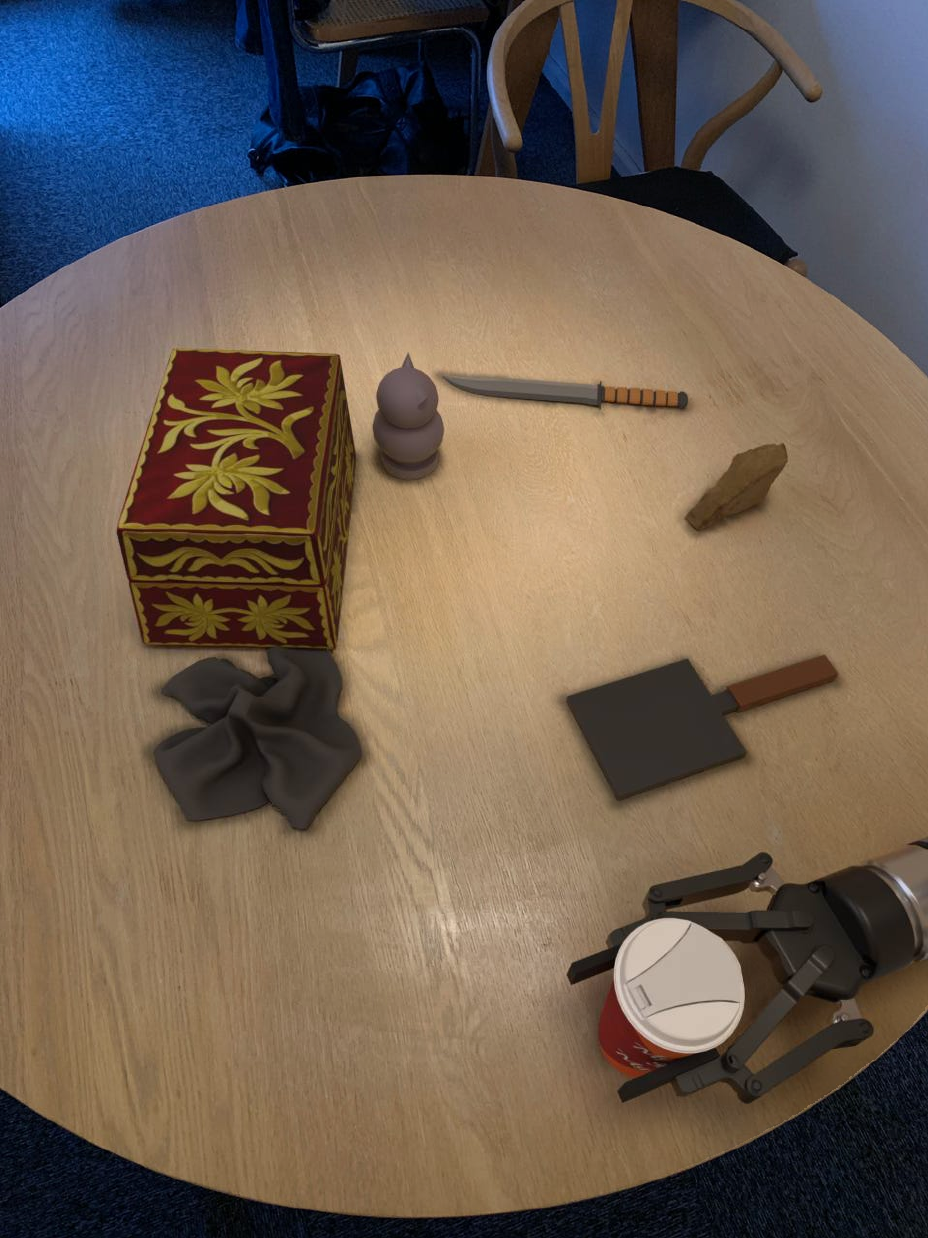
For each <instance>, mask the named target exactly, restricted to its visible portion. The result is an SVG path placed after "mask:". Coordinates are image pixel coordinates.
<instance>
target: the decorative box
mask: <svg viewBox="0 0 928 1238" xmlns="http://www.w3.org/2000/svg"><path fill="white" fill-rule="evenodd" d="M345 384H346V383H345V378H344V373H343V365H342V360H341V355H340V354H338V353H328V352H326V353H325V352H302V351H301V352H298V351H297V352H296V351H270V350H269V351H267V350H237V349H210V348H209V349H207V348H173V349H172V350H171V353H170V354H169V359H168V361H167V364H166V367H165V371H164V373H163V377H162V379H161V383H160V387H159V389H158V393H157V396H156V399H155V402H154V405H153V408H152V412H151V415H150V418H149V422H148V424H147V428H146V431H145V435H144V437H143V440H142V443H141V447H140V450H139V453H138V456H137V460H136V463H135V466H134V469H133V473H132V476H131V480H130V482H129V485H128V489H127V492H126V495H125V498H124V502H123V505H122V508H121V511H120V514H119V518H118V521H117V525H116V535H117V541H118V544H119V545H118V546H119V549H120V553H121V558H122V562H123V565H124V571H125V575H126V578H127V579H128V585H129V586H128V587H129V590H130V591H129V592H130V596H131V600H132V604H133V608H134V612H135V617H136V622H137V625H138V629H139V633H140V637H141V641H142V643H143V644H144V645H148V646H173V647H174V646H175V647H177V646H178V647H179V646H180V647H181V646H182V647H219V648H220V647H223V648H224V647H225V648H258V649H259V648H261V649H263V648H265V649H266V648H272V647H282V648H302V649H328V650H332V649H336V647H337V643H338V639H339V630H340V623H341V622H340V621H341V614H342V613H341V612H342V602H343V593H344V582H345V574H346V563H347V554H348V545H349V534H350V524H351V513H352V506H353V496H354V486H355V485H354V484H355V474H356V466H357V465H356V463H357V453H356V445H355V440H354V434H353V433H354V432H353V427H352V421H351V415H350V408H349V403H348V397H347V396H348V395H347V390H346V385H345Z"/></svg>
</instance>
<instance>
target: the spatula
mask: <svg viewBox="0 0 928 1238" xmlns="http://www.w3.org/2000/svg"><path fill="white" fill-rule="evenodd" d="M839 674H840V673H839V672H838V671H837V669H836V668H835V667H834V665H833V663H832V662H831V661H830V659H829V658H828V656H827V655H826V654H822V655H819V656H815V657H813V658H809V659H808V660H807V659H806V660H804V661H801V662H798V663H794V664H792V665H788V666H785V667H782V668H778V669H776V670H773V671H770V672H767V673H764V674H760V675H758V676H754V677H752V678H748V679H745V680H742V681H739V682H736V683H733V684H730V685H727V687H726V689H725V690H724V691H721V692H718V693H715V694H712V695H711V693H710V692H709V690H708V689H707V687H706V684H704V682H703V681H702V679H701V677H700V675H699V674H698V673H697V671H696V669H695V668H694V666H693V664H692V663H691V661H690V659H688V658H686V659H681V660H679V661H676V662H673V663H670V664H666V665H663V666H660V667H657V668H656V667H655V668H653V669H650V670H646V671H644V672H640V673H638V674H637V673H636V674H634V675H631V676H628V677H625V678H621V679H618V680H615V681H612V682H608V683H606V684H602V685H599V686H596V687H593V688H589V689H586V690H583V691H580V692H577V693H574V694H570V695H567V696H566V703H567V705H568V707H569V709H570V711H571V713H572V715H573V716H574V719H575V721H576V722H577V725H578V727H579V728H580V730H581V732H582V734H583V736H584V739H586V742H587V743H588V745H589V747H590V749H591V751H592V753H593V755H594V758H595V759H596V760H597V761H596V762H597V763H598V765H599V767H600V768H601V770H602V772H603V774H604V776H605V778H606V780H607V782H608V784H609V786H610V788H611V790H612V791H613V794H614V795H615V797H616V800H617V801H621V800H624V799H626V798H630V797H632V796H635V795H638V794H642V793H643V792H646V791H649V790H652V789H655V788H659V787H661V786H663V785H666V784H669V783H672V782H675V781H678V780H681V779H683V778H687V777H690V776H692V775H695V774H698V773H702V772H704V771H707V770H710V769H713V768H716V767H719V766H721V765H725V764H727V763H729V762H733V761H736V760H739V759H742V758H744V757H746V754H747V750H746V749H745V747H744V746H743V744H742V743H741V741H740V739H739V738H738V736H737V734H736V733H735V731H734V730H733V728H732V727H731V725H730V723H729V721H727V719H726V717H725V715H728V714H731V713H734V712H736V713H738V714H739V713H741V712H744V711H746V710H749V709H753V708H755V707H758V706H762V705H764V704H768V703H770V702H773V701H774V702H775V701H777V700H779V699H782V698H786V697H789V696H792V695H795V694H797V693H801V692H805V691H807V690H809V689H813V688H815V687H819V686H821V685H825V684H827V683H831V682H833V681H835V680H836V679H837V677H838V676H839Z"/></svg>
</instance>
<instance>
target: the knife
mask: <svg viewBox="0 0 928 1238" xmlns="http://www.w3.org/2000/svg"><path fill="white" fill-rule="evenodd" d="M441 376H442V377H443V378H444V379H445V380H446V381H447V382H449V383H450V384H452V386H454V387H456V388H458V389H460V390H462V391H465V392H468V393H472V394H477V395H483V396H488V397H497V398H499V397H500V398H510V399H521V400H522V399H525V400H534V401H535V400H536V401H547V402H549V401H550V402H562V403H577V404H587V405H591V406H598V408H599V410H601V409H602V403H603V402H611V403H615V402H616V403H618V404H619V403H620V404H627V403H628V404H631V405H640V404H641V405H642V406H653V405H654V406H660V407H661V406H662V407H665V406H667V407H679V408H681V409H685V408H686V407H688V404H689V396H688V393H686V391H684V390H683V391H682V390H681V391H679V392H678V391H672V390H671V391H670V390H667V391H666V390H661V389H655V390H654V389H652V388H651V389H650V388H642V389H641V388H639V387H637V388H636V387H629V388H628V387H624V386H623V387H622V386H617V387H616V386H604V385H603V384H602V380H600V381H599V384H589V383H578V382H567V381H566V382H564V381H552V380H538V379H537V380H535V379H524V378H513V377H512V378H511V377H474V376H458V375H443V374H442V375H441Z"/></svg>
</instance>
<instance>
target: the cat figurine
mask: <svg viewBox="0 0 928 1238" xmlns="http://www.w3.org/2000/svg"><path fill="white" fill-rule="evenodd" d="M375 395H376V396H375V397H376V404H377V408H378V410H377V411H376V412H375V415H374V418H373V422H372V433H373V438H374V440H375V442H376V445H378V447H379V448H380V450H381V462H382V463H381V464H382V466H383V468H384V470H385V471H386V472H387V473H388V474H390V475H391V476H393V477H395V478H398V479H400V480H406V481H407V480H408V481H410V480H419V479H422V478H425V477H427V476H428V475H430V474H432V473H433V472H434V470H435V469H436V467H437V464H438V457H439V456H438V454H439V452H438V450H439V448H440V447H441V445H442V443H443V439H444V434H445V425H444V421H443V418H442V415H441V414H440V412H439V411H438V406H439V400H440V399H439V393H438V389H437V386H436V384H435V382H434V381H433V380H432V378H431V377H430V376H429V375H428V374H426V373H425V372H424V371H422V370H421V369H418V368H415V366H414V364H413V360H412V358H411V355H410V353H409V352H407V354H406V356H405V357H404V360H403V363H402V365H401V367H397V368H394V369H392V370H391V371H389V372H387V373H386V374H384V376H383V378H381V380H380V381H379V383H378V386H377V390H376V394H375Z"/></svg>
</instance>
